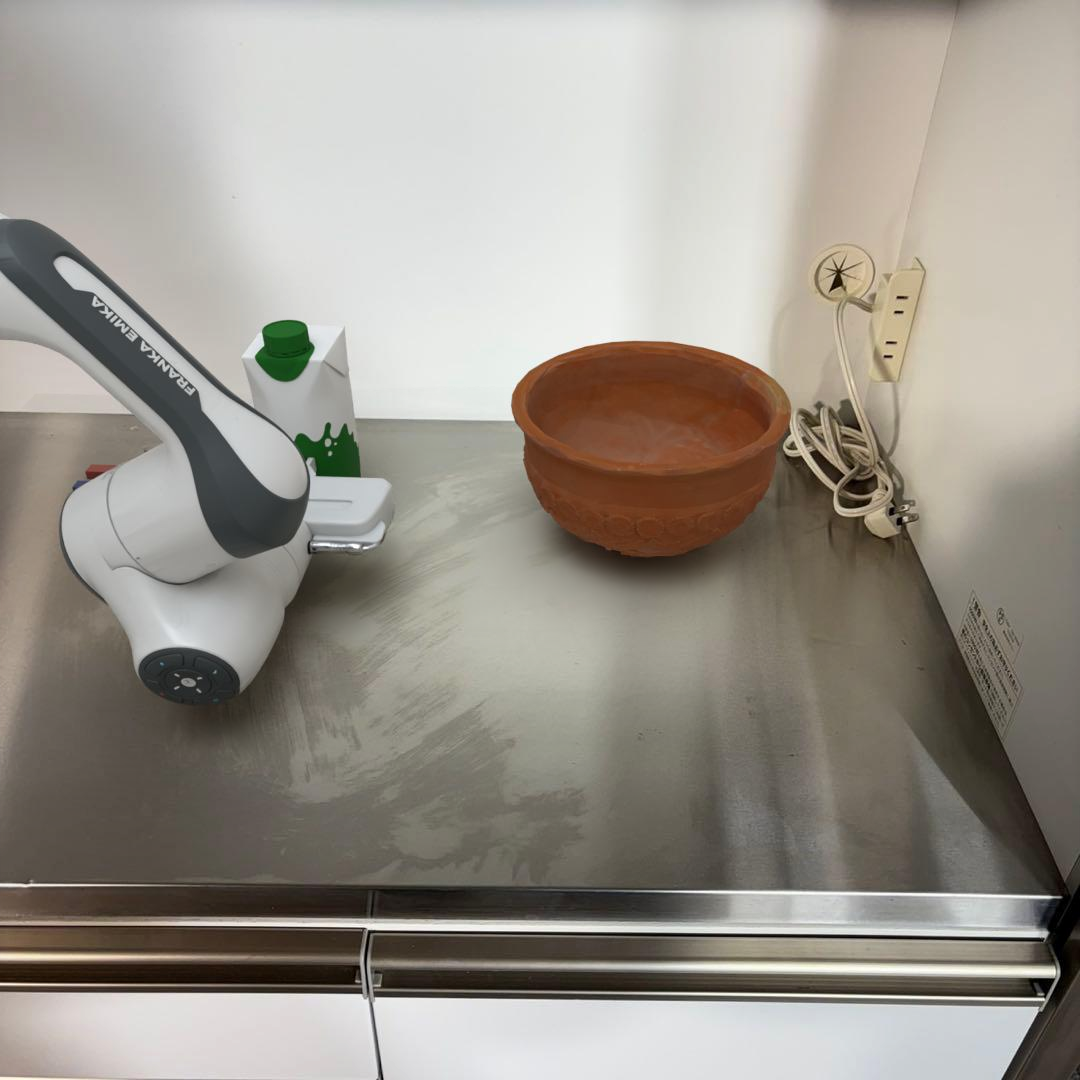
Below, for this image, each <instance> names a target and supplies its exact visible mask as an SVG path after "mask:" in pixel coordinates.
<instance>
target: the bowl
mask: <svg viewBox="0 0 1080 1080" xmlns="http://www.w3.org/2000/svg"><path fill="white" fill-rule="evenodd" d="M510 407H511V413H512V416H513V419H514V422H515V424H516V425H517V426H518V427H519V429H520V430H521V432H523V437H524V438H523V439H524V445H523V449H522V450H523V458H522V461H523V466H524V469H525V473H526V476H527V479H528V481H529V482H530V484H531V487H532V490H533V493H534V494H535V496H536V498H537V500H538V502H539V504H540V506H541V507H542V509H543V510H544V511H545V512H546V513H547V514H549V515H550V516H551V517H552V518H553V519H554V521H556V522H557V523H558V525H559V526H560V527H561V528H562V529H564V530H565V531H567V532H569V533H571V534H572V535H574V536H576V537H577V538H578V539H581V540H582V541H584V542H586V543H591V544H592V543H593V544H596V545H598V546H601V547H603V548H605V550H607V551H610V552H611V551H615V552H620V555H623V556H630V557H640V558H641V557H643V558H653V557H673V556H679V555H683V554H684V555H685V554H687V552H690V551H692V550H693V549H697V548H703V547H706V546H709V545H710V544H713V543H715V542H717V540H719V539H720V538H722V537H725V536H727V535H728V534H730V533H732V532H733V531H734V530H736V529H737V528H738V527H740V526H741V525H742V524H744V522H745V521H746V519H747V518H748V516H749V515H750V514H752V513H754V511H755V510H756V507H757V506H758V503H760V502H761V501H763V499H764V498H765V496H766V494H767V492H768V490H769V489H770V486H771V483H772V481H773V477H774V473H775V470H776V464H777V458H776V456H777V451H778V446H779V445H778V444H779V443H780V441H781V440H782V438H783V437H784V435H785V434H786V433H787V431H788V430H789V427H790V425H791V424H790V423H791V419H792V405H791V401H790V397H789V396H788V394H787V393H786V390H785V389H784V388H783V387H782V385H780V384H779V382H778V381H776V379H775V378H773V377H772V376H770V375H769V374H768V373H766V372H765V371H763V370H762V369H761V368H759V367H758V366H755V365H753V364H751V363H749V362H748V361H745V360H742V359H741V358H739V357H736V356H734V355H731V354H729V353H728V354H727V353H725V352H721V351H719V350H714V349H710V348H707V347H702V346H699V345H698V346H697V345H692V344H685V343H679V342H674V341H664V340H663V341H660V340H657V341H656V340H623V341H610V342H604V343H603V342H602V343H596V344H591V345H585V346H582V347H578V348H576V349H573V350H570V351H567V352H564V353H561V354H558V355H556V356H553V357H552V358H551V357H550V359H547V360H546V361H543V362H542V363H539V364H538V365H536V366H535V367H533V368H532V369H530V370H529V371H527V372H526V374H525V375H524V376H523V377H522V378H521V380H519V382H518V383H517V384H516V386H515V388H514V390H513V391H512V394H511V403H510Z"/></svg>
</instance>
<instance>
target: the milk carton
mask: <svg viewBox="0 0 1080 1080" xmlns="http://www.w3.org/2000/svg"><path fill="white" fill-rule="evenodd" d="M241 361H242V365H243V367H244V371H245V374H246V378H247V382H248V385H249V389H250V394H251V398H252V403H253V408H254V409H256V410H257V411H259V412H260V413H262V414H263V415H265V416H266V417H267V418H269V419H270V420H271V421H273V422H274V423H275V424H277V425H278V426H279V427H280V428H281V429H282V430H284V431H285V432H286V433H287V434H288V435H289V437H290V438H291V439H292V440H293V441H294V442H295V444H296V445H297V447H298V448H299V450H300V451H301V453H302V455H303V457H304V458H315V463H316V476H323V477H356V478H362V471H361V469H362V468H361V457H360V450H359V449H360V448H359V447H360V446H359V438H358V430H357V423H356V417H355V416H356V415H355V407H354V399H353V393H352V386H351V385H352V384H351V379H350V367H349V363H348V361H349V360H348V351H347V338H346V325H335V324H334V325H329V324H306V323H305V322H304V321H301V320H297V319H282V320H281V319H280V320H276V321H272V322H269V323H267V324H266V325H265V326H264V327H262V329H261V332H259V333H257V335H256V336H255V337H254V339H253V341H252V342H251V344H249V346H248V347H247V348H246V350H245V351H244V353H242V355H241Z"/></svg>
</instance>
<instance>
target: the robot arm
mask: <svg viewBox="0 0 1080 1080" xmlns="http://www.w3.org/2000/svg"><path fill="white" fill-rule="evenodd" d="M0 341H17V342H22V343H23V342H24V343H29V344H33V345H38V346H40V347H44V348H46V349H49V350H52V351H54V352H55V353H58V354H60V355H62V356H64V357H65V358H67V359H68V360H70V361H72V363H74V364H75V365H77V366H78V368H81V370H83V371H84V372H85V373H86V374H87V375H88V376H89V377H90V378H92V379H93V380H94V381H95V382H96V383H97V384H98V385H99V386H101V387H102V388H103V389H104V390H105V391H106V392H107V393H108V394H109V395H111V396H112V397H113V398H114V399H115V400H116V401H117V402H118V403H120V404H121V405H122V406H123V407H124V408H125V409H126V410H127V411H129V412H130V413H131V414H132V415H133V416H134V417H135V418H136V419H137V420H139V421H140V422H141V423H142V424H143V425H144V426H146V428H147V429H149V431H151V432H152V433H153V434H154V435H156V436H157V438H158V439H160V440H161V441H162V443H160V444H158V445H156V446H155V447H152V448H150V449H149V450H147V451H145V452H143V453H141V454H140V455H138V456H136V457H134V458H132V459H129V460H126V461H124V462H121V463H119V464H117V465H118V466H116V467H114V468H112V469H110V470H109V471H107V472H105V473H103V474H101V475H100V476H98V477H96V478H94V479H93V478H91V479H90V480H88V481H89V482H87V483H86V484H84V485H82V486H80V487H78V488H76V489H75V490H73V489H72V491H71V492H70V493H69V494H68V496H67V497H66V499H65V500H64V501H63V502H64V503H63V505H62V508H61V511H60V516H59V521H58V536H59V537H58V538H59V544H60V550H61V552H62V555H63V558H64V561H65V563H66V565H67V566H68V568H69V570H70V571H71V573H72V574H73V576H74V577H75V578H76V579H77V581H78V582H79V583H80V584H81V585H82V586H83V587H84V588H85V589H86V590H88V591H89V592H90V593H91V594H92V595H94V597H96V598H97V599H98V600H99V601H101V602H102V603H103V604H105V605H106V606H107V607H109V608H110V609H111V612H112V613H113V614H114V615H115V617H116V618H117V620H118V621H119V624H120V625H121V627H122V628H123V630H124V632H125V634H126V636H127V638H128V641H129V645H130V649H131V655H132V661H133V667H134V671H135V673H136V676H137V678H138V679H139V681H140V682H141V683H142V684H143V686H145V687H146V688H147V689H148V691H150V692H151V693H152V694H154V695H155V696H157V697H160V698H161V699H163V700H166V701H169V702H171V703H175V704H179V705H183V706H191V707H204V706H211V705H217V704H220V703H222V702H227V701H228V700H232V699H234V698H235V697H237V696H239V695H241V693H243V691H244V690H246V688H247V687H249V685H250V684H251V683H252V682H253V680H254V679H255V678H256V677H257V675H258V674H259V672H260V670H261V669H262V667H263V666H264V664H265V663H266V661H267V659H268V657H269V655H270V653H271V651H272V649H273V647H274V645H275V643H276V641H277V638H278V636H279V635H280V632H281V629H282V628H283V627H282V626H283V625H284V620H285V614H286V613H285V611H286V610H285V609H286V608H287V606H289V604H290V603H292V601H293V600H294V598H295V596H296V594H297V592H298V589H299V588H300V586H301V583H302V581H303V578H304V576H305V575H306V572H307V569H308V567H309V565H310V562H311V559H312V557H313V555H327V556H328V555H329V556H330V555H346V556H354V557H355V556H361V555H364V554H366V553H368V552H370V551H373V550H376V549H380V548H381V547H382V546H383V544H384V542H385V539H386V536H387V534H388V530H389V528H390V526H391V524H392V522H393V520H394V517H395V514H396V502H395V494H394V493H395V491H394V488H393V486H392V484H391V483H390V482H389V481H388V480H387V479H386V478H383V477H361V478H356V477H323V476H316V463H315V458H304V457H303V455H302V453H301V451H300V450H299V448H298V447H297V445H296V444H295V442H294V441H293V440H292V439H291V438H290V437H289V435H288V434H287V433H286V432H285V431H284V430H282V429H281V428H280V427H279V426H278V425H277V424H275V423H274V422H273V421H271V420H270V419H269V418H267V417H266V416H265V415H263V414H262V413H260V412H259V411H257V410H256V409H254V406H252V405H250V404H249V403H247V402H246V401H244V400H243V399H241V398H240V397H239V396H238V395H236V394H235V393H234V392H233V391H231V390H230V389H229V388H228V387H227V386H226V385H224V384H223V383H222V382H221V381H220V380H219V379H218V378H217V377H216V376H215V375H214V374H212V373H211V371H210V370H209V369H208V368H207V367H205V365H203V364H202V363H201V362H200V361H199V360H198V359H197V358H196V357H195V356H194V355H193V354H191V353H190V352H189V350H188V349H186V348H185V347H184V346H183V345H182V343H180V342H179V341H178V340H177V339H176V338H175V337H174V336H172V334H171V333H169V332H168V331H167V329H165V328H164V326H162V325H161V324H160V323H159V322H158V321H157V320H156V319H155V318H153V316H151V315H150V314H149V313H148V311H146V310H145V309H144V308H143V307H142V306H141V305H140V304H139V303H138V302H137V301H136V300H135V299H134V298H133V297H132V296H130V295H129V294H128V293H127V292H126V291H125V290H124V289H123V288H122V287H121V286H120V285H119V284H118V283H116V282H115V281H114V280H113V279H112V278H111V277H110V276H109V275H108V274H107V273H106V272H104V270H102V269H101V268H100V267H99V266H98V265H97V264H96V263H94V262H93V261H92V260H91V259H90V258H89V257H88V256H87V255H86V254H84V253H83V252H82V251H81V250H80V249H78V248H77V247H76V246H75V245H73V244H72V243H71V242H70V241H69V240H67V239H66V238H65V237H63V236H62V235H60V234H59V233H58V232H56V231H54V230H53V229H52V228H50V227H48V226H46V225H44V224H43V223H40V222H38V221H36V220H32V219H27V218H12V217H10V216H7V215H5V214H3V213H2V212H0Z"/></svg>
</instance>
